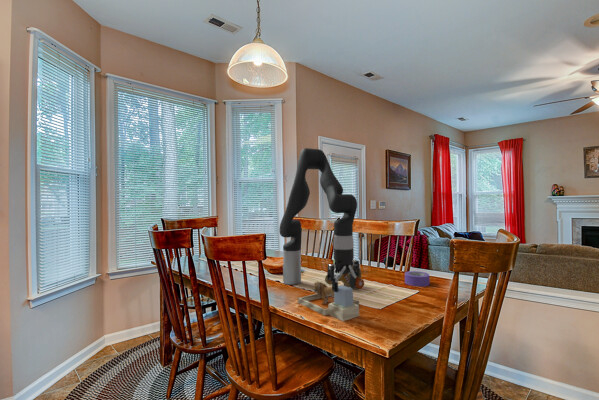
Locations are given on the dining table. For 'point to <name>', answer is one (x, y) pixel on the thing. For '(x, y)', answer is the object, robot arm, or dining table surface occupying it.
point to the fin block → (344, 296)
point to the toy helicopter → (348, 280)
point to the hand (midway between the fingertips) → (344, 289)
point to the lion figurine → (323, 291)
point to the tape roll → (417, 278)
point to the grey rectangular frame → (332, 308)
